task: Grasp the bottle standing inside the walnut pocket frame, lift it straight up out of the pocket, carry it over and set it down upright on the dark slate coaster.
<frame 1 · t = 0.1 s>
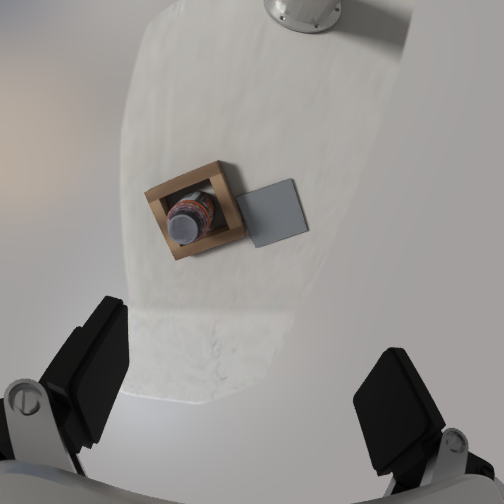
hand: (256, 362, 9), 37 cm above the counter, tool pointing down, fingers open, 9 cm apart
slate coaster: (272, 213, 45), on the counter
pocket frame: (197, 208, 45), on the counter
supplement bottle: (198, 207, 45), resting in pocket frame
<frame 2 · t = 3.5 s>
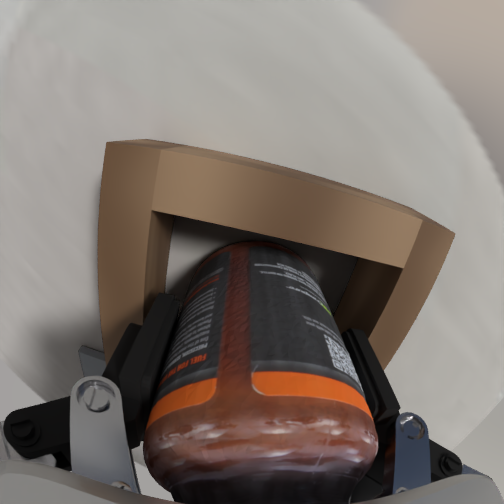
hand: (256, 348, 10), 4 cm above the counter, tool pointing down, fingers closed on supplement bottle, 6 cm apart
slate coaster: (148, 405, 17), on the counter
pocket frame: (254, 296, 13), on the counter
supplement bottle: (254, 294, 13), resting in pocket frame, touching gripper
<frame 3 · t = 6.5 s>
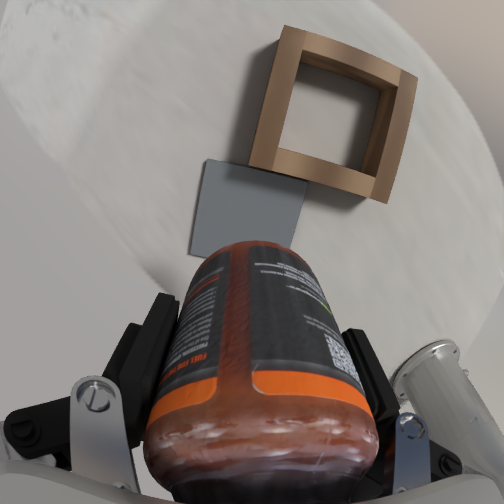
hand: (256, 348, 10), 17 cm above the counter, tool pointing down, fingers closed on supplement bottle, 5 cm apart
slate coaster: (246, 217, 26), on the counter
pocket frame: (330, 115, 22), on the counter
supplement bottle: (254, 293, 13), point 13 cm above the counter, touching gripper
when the fingers open (5 cm above the counter, at t = 9.6 s): supplement bottle drops 1 cm, resting on slate coaster.
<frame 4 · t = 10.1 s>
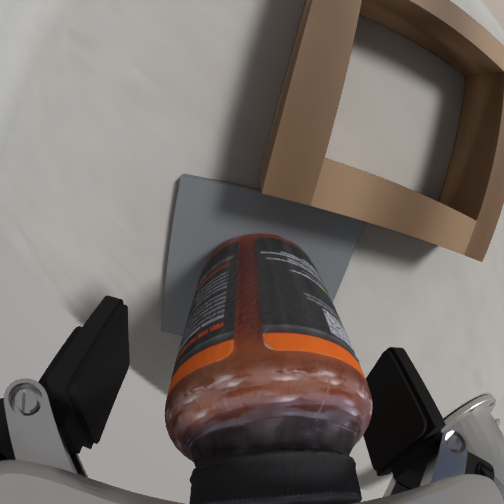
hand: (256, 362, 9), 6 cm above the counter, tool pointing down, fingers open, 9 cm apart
slate coaster: (253, 276, 15), on the counter
pocket frame: (401, 103, 11), on the counter
supplement bottle: (259, 282, 15), resting on slate coaster
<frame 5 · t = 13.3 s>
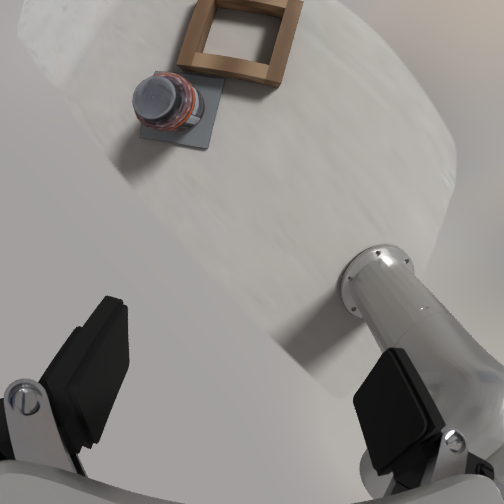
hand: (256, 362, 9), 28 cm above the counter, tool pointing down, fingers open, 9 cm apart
slate coaster: (181, 108, 31), on the counter
pocket frame: (241, 37, 27), on the counter
supplement bottle: (182, 108, 30), resting on slate coaster
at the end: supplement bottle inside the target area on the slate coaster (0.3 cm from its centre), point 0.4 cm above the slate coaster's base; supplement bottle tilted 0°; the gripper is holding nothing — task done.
